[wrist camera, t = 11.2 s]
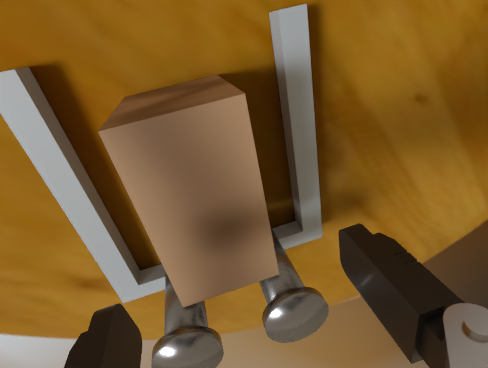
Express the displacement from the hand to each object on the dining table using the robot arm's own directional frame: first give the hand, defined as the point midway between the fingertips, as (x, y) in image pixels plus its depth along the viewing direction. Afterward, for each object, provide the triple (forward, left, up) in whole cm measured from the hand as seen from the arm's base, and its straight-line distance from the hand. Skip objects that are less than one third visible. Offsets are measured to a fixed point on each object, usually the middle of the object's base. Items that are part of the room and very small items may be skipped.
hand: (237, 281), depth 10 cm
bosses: (+1, +6, -10) cm, 12 cm away
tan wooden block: (0, -1, -11) cm, 11 cm away
